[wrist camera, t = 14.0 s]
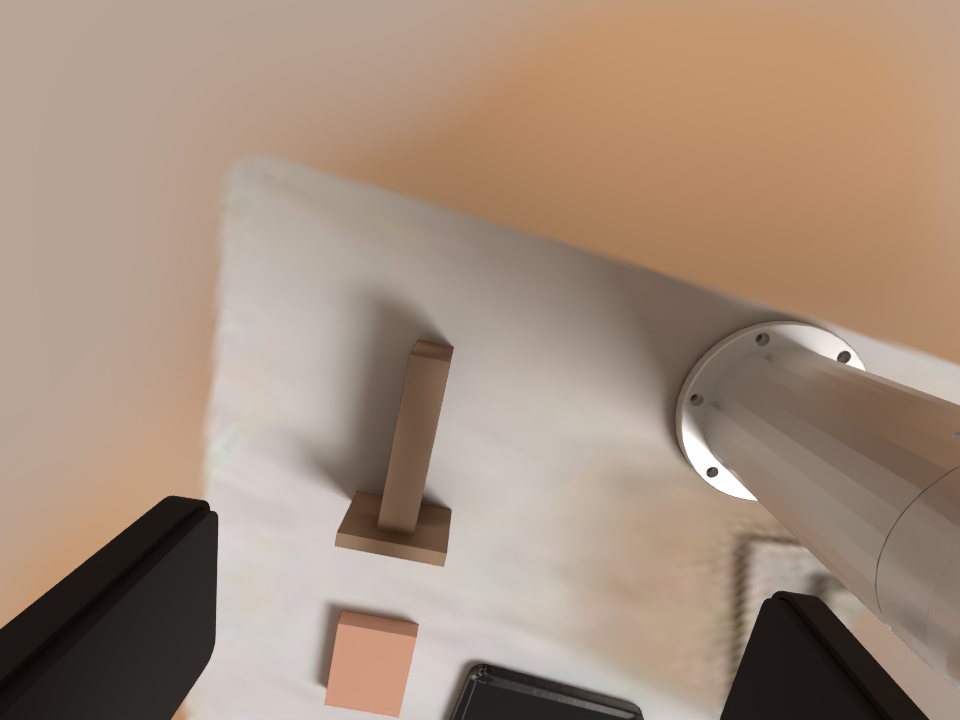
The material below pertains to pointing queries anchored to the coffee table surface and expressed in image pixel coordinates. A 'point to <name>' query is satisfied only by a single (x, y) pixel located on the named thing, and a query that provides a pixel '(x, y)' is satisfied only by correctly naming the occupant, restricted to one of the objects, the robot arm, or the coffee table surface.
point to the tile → (370, 663)
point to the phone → (532, 699)
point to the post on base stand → (407, 473)
